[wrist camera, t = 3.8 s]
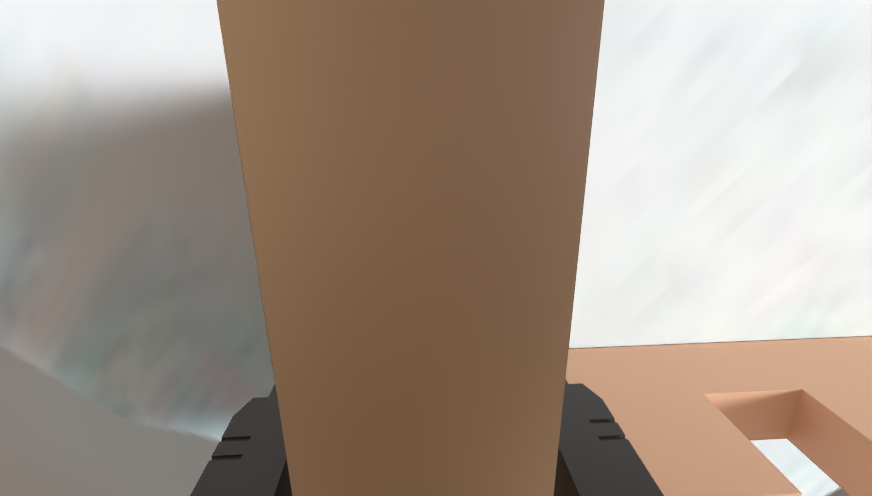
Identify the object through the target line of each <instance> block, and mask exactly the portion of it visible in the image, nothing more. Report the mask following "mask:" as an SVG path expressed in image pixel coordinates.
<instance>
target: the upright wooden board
mask: <svg viewBox="0 0 872 496" xmlns="http://www.w3.org/2000/svg"><path fill="white" fill-rule="evenodd" d="M217 6H218V13H219V19H220V26H221V32H222V39H223V45H224V52H225V58H226V65H227V71H228V78H229V85H230V91H231V98H232V104H233V111H234V117H235V124H236V130H237V137H238V143H239V150H240V156H241V163H242V169H243V176H244V183H245V189H246V196H247V202H248V209H249V215H250V222H251V228H252V235H253V241H254V248H255V254H256V261H257V267H258V274H259V280H260V287H261V294H262V300H263V307H264V313H265V320H266V326H267V333H268V339H269V346H270V352H271V359H272V365H273V372H274V378H275V385H276V391H277V398H278V405H279V411H280V418H281V424H282V431H283V437H284V444H285V450H286V457H287V463H288V470H289V476H290V483H291V489H292V496H553V495H554V485H555V475H556V466H557V456H558V446H559V437H560V427H561V417H562V408H563V398H564V388H565V378H566V369H567V359H568V349H569V340H570V330H571V320H572V311H573V301H574V291H575V281H576V272H577V262H578V252H579V243H580V233H581V223H582V214H583V204H584V194H585V185H586V175H587V165H588V155H589V146H590V136H591V126H592V117H593V107H594V97H595V88H596V78H597V68H598V59H599V49H600V39H601V29H602V20H603V10H604V0H217Z"/></svg>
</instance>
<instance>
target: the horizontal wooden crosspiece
mask: <svg viewBox="0 0 872 496" xmlns="http://www.w3.org/2000/svg"><path fill="white" fill-rule="evenodd" d="M566 380H567V382H568V384H578V383H582V384H584V385H585V386H586V387H588V388H589V389H590V390H591V391H593V392H594V393H595V394H596V395H598V396H599V397H600V398H602V399H603V401H604V403H605V404H606V406H607V407H608V409H609V410H610V412H611V413H612V415H613V417H614V418H615V422H617V423H618V424H619V426H620V428H621V429H622V431H623V432H624V434H625V438H626V439H628V440H629V442H630V443H631V445H632V446H633V448H634V449H635V451H636V453H637V454H638V456H639V457H640V459H641V460H642V462H643V464H644V465H645V467H646V468H647V470H648V471H649V473H650V474H651V476H652V478H653V479H654V481H655V482H656V484H657V485H658V487H659V489H660V490H661V492H662V493H663V495H664V496H801V494H802V493H801V492H800V491H799V490H798V489H797V488H796V487H795V486H794V485H793V484H792V483H791V482H790V481H789V480H788V479H787V478H786V477H785V476H784V475H783V474H782V473H781V472H780V471H779V470H778V469H777V468H776V467H775V466H774V465H773V464H772V463H771V462H770V461H769V460H768V459H767V458H766V457H765V456H764V455H763V454H762V453H761V452H760V451H759V450H758V449H757V448H756V447H755V446H754V445H753V444H752V442H751V441H750V440H766V439H784V438H787V439H788V440H789V441H790V442H791V443H792V444H793V445H795V446H796V447H797V448H798V449H799V450H800V451H801V452H802V453H803V454H805V455H806V456H807V457H808V458H809V459H810V460H811V461H812V462H813V463H814V464H816V465H817V466H818V467H819V468H820V469H821V470H822V471H823V472H824V473H825V474H827V475H828V476H829V477H830V478H831V479H832V480H833V481H834V482H835V483H836V484H838V485H839V486H840V487H841V488H842V489H843V490H844V491H845V492H847V493H848V494H849V495H850V496H872V336H865V337H841V338H817V339H794V340H770V341H746V342H722V343H698V344H675V345H651V346H627V347H603V348H579V349H568V359H567V369H566Z"/></svg>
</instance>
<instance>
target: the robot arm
mask: <svg viewBox="0 0 872 496" xmlns="http://www.w3.org/2000/svg"><path fill="white" fill-rule="evenodd" d="M190 496H292V489H291V483H290V476H289V470H288V463H287V457H286V450H285V444H284V437H283V431H282V424H281V418H280V411H279V405H278V398H277V391H276V385H274V387H273V389H272V392H271V394H270V396H269V397H265V398H253V399H252V400H251V401H250V402H249V403H247V404H246V405H245V406H244V407H243V408H242V409H241V410H240V411H239V412H237V413H236V414H235V415H234V416H233V418H232V420H231V421H230V423H229V425H228V427H227V429H226V431H225V433H224V434H223V436H222V441H221V442H219V444H218V445H217V447H216V449H215V451H214V453H213V455H212V460H211V461H209V462H208V464H207V466H206V468H205V469H204V471H203V473H202V475H201V477H200V479H199V481H198V482H197V484H196V486H195V488H194V490H193V492H192V494H191V495H190ZM553 496H664V495H663V493H662V492H661V490H660V489H659V487H658V485H657V484H656V482H655V481H654V479H653V478H652V476H651V474H650V473H649V471H648V470H647V468H646V467H645V465H644V464H643V462H642V460H641V459H640V457H639V456H638V454H637V453H636V451H635V449H634V448H633V446H632V445H631V443H630V442H629V440H628V439H626V438H625V434H624V432H623V431H622V429H621V428H620V426H619V424H618V423H617V422H615V418H614V417H613V415H612V413H611V412H610V410H609V409H608V407H607V406H606V404H605V403H604V401H603V399H602V398H600V397H599V396H598V395H596V394H595V393H594V392H593V391H591V390H590V389H589V388H588V387H586V386H585V385H584V384H582V383H578V384H568V382H567V380H566V378H565V388H564V398H563V408H562V417H561V427H560V437H559V446H558V456H557V466H556V475H555V485H554V495H553Z"/></svg>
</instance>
